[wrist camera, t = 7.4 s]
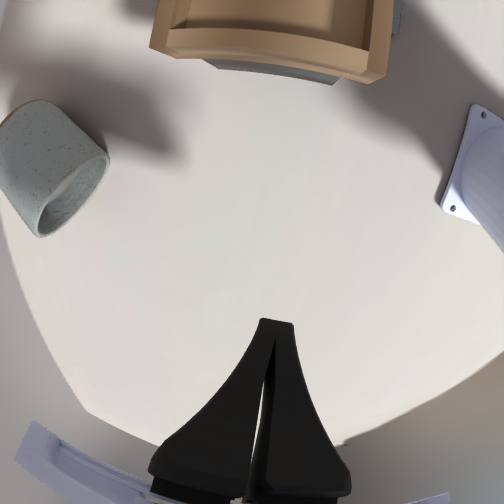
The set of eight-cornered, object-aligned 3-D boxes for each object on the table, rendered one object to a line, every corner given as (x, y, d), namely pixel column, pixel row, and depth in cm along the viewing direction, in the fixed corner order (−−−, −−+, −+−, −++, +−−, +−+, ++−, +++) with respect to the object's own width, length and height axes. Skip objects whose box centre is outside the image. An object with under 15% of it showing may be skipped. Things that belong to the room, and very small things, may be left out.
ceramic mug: (61, 84, 15) (-16, 110, 9) (126, 141, 17) (50, 186, 11) (30, 176, 21) (-25, 216, 15) (81, 227, 23) (30, 279, 17)
